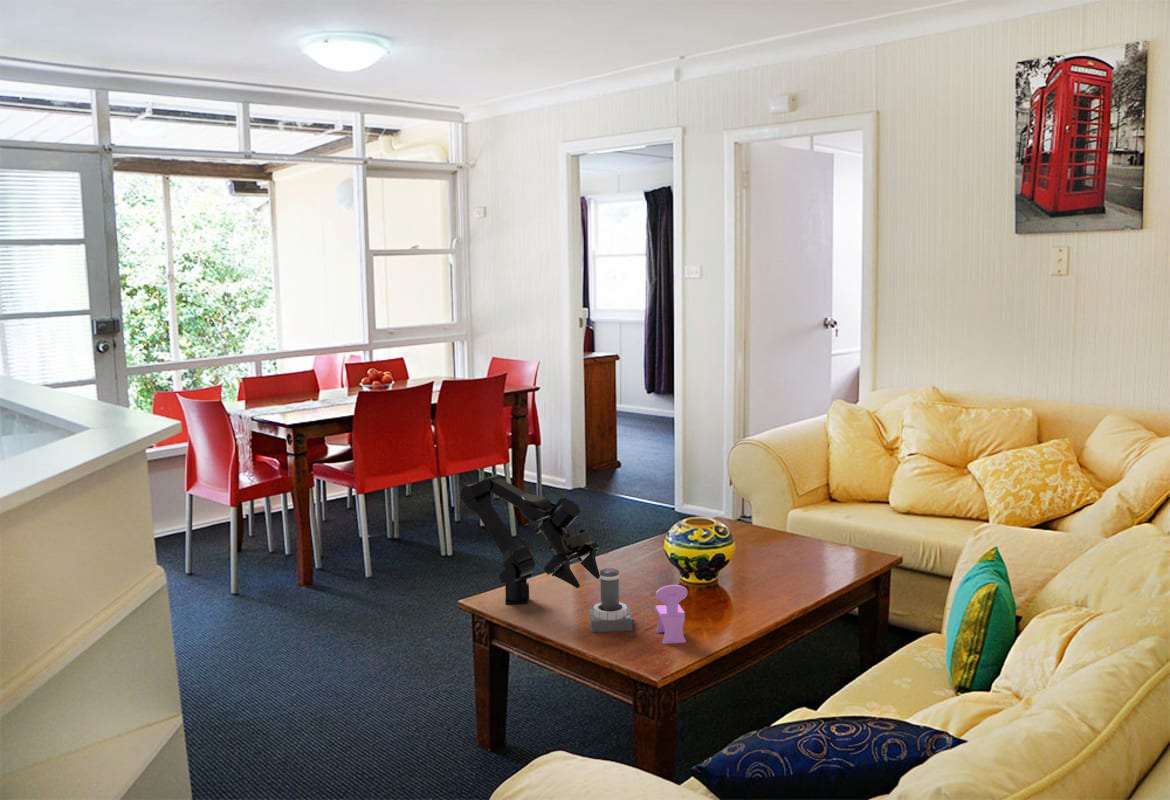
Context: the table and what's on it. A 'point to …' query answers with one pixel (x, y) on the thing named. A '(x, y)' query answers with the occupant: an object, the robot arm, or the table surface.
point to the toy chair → (671, 613)
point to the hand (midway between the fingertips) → (589, 582)
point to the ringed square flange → (610, 619)
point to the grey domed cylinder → (609, 589)
